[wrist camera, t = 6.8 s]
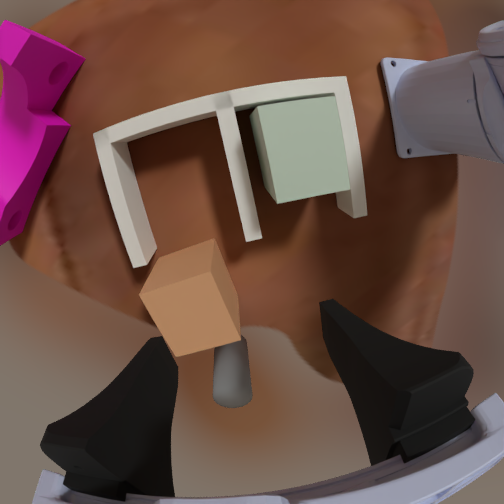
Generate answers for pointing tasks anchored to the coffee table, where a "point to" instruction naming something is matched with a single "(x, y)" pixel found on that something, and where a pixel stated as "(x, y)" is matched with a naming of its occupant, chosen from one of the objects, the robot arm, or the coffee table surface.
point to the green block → (300, 148)
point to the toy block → (29, 117)
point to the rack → (224, 107)
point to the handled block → (201, 315)
